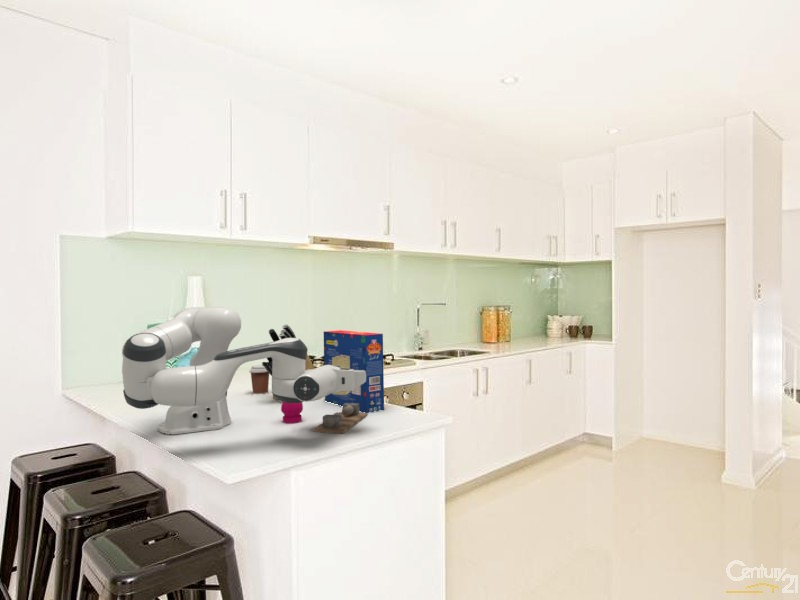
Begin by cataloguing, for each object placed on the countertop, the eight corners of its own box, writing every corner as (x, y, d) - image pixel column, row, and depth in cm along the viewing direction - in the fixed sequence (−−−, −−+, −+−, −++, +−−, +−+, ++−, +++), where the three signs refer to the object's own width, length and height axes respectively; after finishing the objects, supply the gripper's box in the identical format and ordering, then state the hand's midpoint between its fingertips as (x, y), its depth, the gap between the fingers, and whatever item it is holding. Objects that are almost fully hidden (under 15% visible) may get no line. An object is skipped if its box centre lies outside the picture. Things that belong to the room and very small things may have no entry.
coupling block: (345, 394, 175) (344, 357, 175) (332, 394, 176) (331, 357, 176) (350, 392, 180) (350, 356, 180) (337, 391, 181) (337, 355, 181)
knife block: (260, 405, 210) (258, 325, 210) (298, 388, 244) (297, 320, 244) (286, 406, 207) (285, 325, 207) (322, 389, 241) (320, 320, 241)
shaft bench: (343, 433, 166) (343, 418, 166) (313, 431, 168) (313, 417, 168) (367, 415, 189) (367, 402, 189) (340, 414, 191) (340, 401, 191)
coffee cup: (268, 395, 230) (267, 367, 230) (246, 395, 230) (246, 367, 230) (273, 391, 239) (273, 364, 239) (253, 391, 240) (252, 364, 239)
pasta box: (384, 410, 198) (382, 333, 197) (366, 413, 193) (365, 335, 192) (341, 399, 219) (340, 330, 219) (324, 401, 214) (323, 331, 214)
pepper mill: (293, 417, 188) (292, 360, 188) (307, 420, 183) (306, 361, 183) (276, 421, 182) (275, 362, 182) (290, 424, 178) (289, 364, 177)
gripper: (295, 389, 168) (313, 381, 182) (357, 390, 163) (371, 383, 177) (294, 368, 168) (312, 362, 181) (357, 370, 163) (371, 363, 177)
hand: (342, 372), depth 179 cm, fingers closed on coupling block, 4 cm apart
